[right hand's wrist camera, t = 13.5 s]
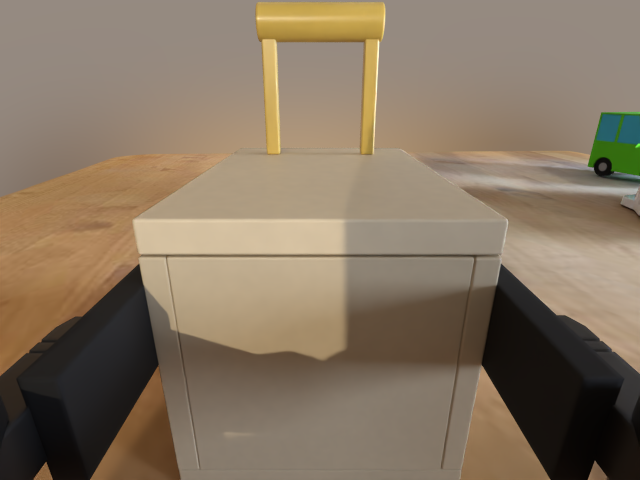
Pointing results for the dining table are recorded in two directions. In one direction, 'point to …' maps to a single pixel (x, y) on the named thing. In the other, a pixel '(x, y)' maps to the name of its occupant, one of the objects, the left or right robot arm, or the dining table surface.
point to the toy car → (617, 144)
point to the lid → (320, 176)
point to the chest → (320, 362)
